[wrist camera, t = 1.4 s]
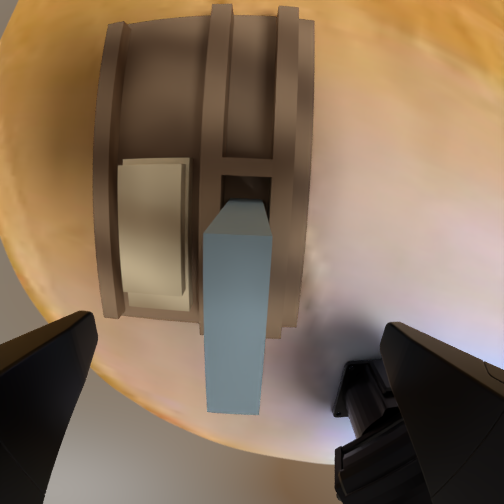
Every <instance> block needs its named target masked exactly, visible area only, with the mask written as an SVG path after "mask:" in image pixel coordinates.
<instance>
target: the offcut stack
mask: <svg viewBox="0 0 504 504" xmlns="http://www.w3.org/2000/svg"><path fill="white" fill-rule="evenodd" d="M192 179H193V158H142V159H123V165H118V228H119V247H120V262H121V274H122V285H123V292H128V299H129V306H133V307H143V308H154V309H165V310H177V311H190V309H191V307H192V304H193V302H192Z"/></svg>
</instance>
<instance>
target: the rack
mask: <svg viewBox="0 0 504 504" xmlns="http://www.w3.org/2000/svg"><path fill="white" fill-rule="evenodd" d="M314 50H315V41H314V21H313V20H305V19H299V8H298V7H289V6H279V8H278V14H277V17H273V16H254V15H234V14H233V7H232V4H212V11H211V16H192V17H179V18H169V19H160V20H152V21H145V22H139V23H133V24H126V23H125V22H124V21H123V22H117V23H113V24H108V29H107V34H106V39H105V45H104V50H103V56H102V63H101V69H100V77H99V84H98V93H97V103H96V114H95V127H94V146H93V214H94V233H95V247H96V259H97V269H98V278H99V286H100V294H101V301H102V308H103V315H104V317H105V318H113V319H119V318H120V316H129V317H138V318H148V319H158V320H168V321H180V322H192V323H200V335H204V312H203V233H204V232H205V230H206V229H207V228H208V226H209V225H210V224H211V223H212V221H213V220H214V219H215V217H216V216H217V215H218V213H219V212H220V211H221V210H222V208H223V207H224V206H225V205H226V203H227V202H228V201H229V199H230V198H244V199H262V201H263V204H264V208H265V211H266V215H267V218H268V222H269V225H270V229H271V233H272V236H273V238H272V253H271V268H270V283H269V297H268V311H267V324H266V337H265V338H270V339H281V329H282V327H296V326H297V318H298V309H299V301H300V292H301V282H302V273H303V263H304V252H305V241H306V229H307V217H308V204H309V189H310V174H311V156H312V135H313V108H314ZM142 158H193V179H192V302H193V304H192V307H191V309H190V311H177V310H165V309H154V308H143V307H133V306H129V299H128V292H123V285H122V274H121V262H120V247H119V228H118V165H123V159H142Z"/></svg>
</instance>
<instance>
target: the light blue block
mask: <svg viewBox="0 0 504 504" xmlns="http://www.w3.org/2000/svg"><path fill="white" fill-rule="evenodd" d="M272 238H273V236H272V233H271V229H270V225H269V222H268V218H267V215H266V211H265V208H264V204H263V201H262V199H244V198H230V199H229V201H228V202H227V203H226V205H225V206H224V207H223V208H222V210H221V211H220V212H219V213H218V215H217V216H216V217H215V219H214V220H213V221H212V223H211V224H210V225H209V226H208V228H207V229H206V230H205V232H204V233H203V312H204V351H205V377H206V397H207V412H212V413H226V414H244V415H259V408H260V397H261V386H262V374H263V362H264V350H265V337H266V324H267V311H268V297H269V283H270V268H271V253H272Z"/></svg>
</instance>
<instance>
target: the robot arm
mask: <svg viewBox="0 0 504 504" xmlns="http://www.w3.org/2000/svg"><path fill="white" fill-rule="evenodd" d="M97 342H98V333H97V329H96V324H95V319H94V315H93V313H92V312H89V311H78V312H75V313H73V314H71V315H68V316H66V317H63V318H61V319H59V320H56V321H54V322H52V323H49V324H47V325H45V326H42V327H40V328H38V329H35V330H33V331H31V332H28V333H26V334H24V335H21V336H19V337H17V338H14V339H12V340H10V341H7V342H5V343H3V344H0V504H43V501H44V497H45V495H44V494H45V493H46V490H47V486H48V483H49V479H50V476H51V473H52V470H53V467H54V464H55V461H56V458H57V455H58V451H59V449H60V446H61V443H62V440H63V437H64V435H65V432H66V429H67V426H68V424H69V421H70V418H71V416H72V413H73V410H74V408H75V405H76V403H77V401H78V398H79V395H80V393H81V391H82V388H83V386H84V383H85V381H86V378H87V375H88V371H89V368H90V364H91V361H92V358H93V355H94V352H95V348H96V345H97ZM380 353H381V356H382V359H375V360H365V361H350V362H348V363H346V365H345V367H344V371H343V375H342V379H341V383H340V387H339V390H338V394H337V398H336V401H335V405H334V408H333V416H334V417H349V419H350V421H351V424H352V427H353V430H354V433H355V436H356V439H355V440H354V441H352V442H350V443H348V444H346V445H344V446H343V447H342V446H340V447H338V448H337V449H335V490H336V492H337V494H336V495H337V498H338V500H340V501H342V502H343V504H504V370H503V369H501V368H498V367H496V366H494V365H492V364H489V363H487V362H485V361H484V362H483V360H481V359H479V358H476V357H474V356H472V355H470V354H468V353H466V352H463V351H461V350H459V349H457V348H455V347H453V346H451V345H448V344H446V343H444V342H442V341H440V340H438V339H435V338H433V337H431V336H429V335H427V334H425V333H423V332H420V331H418V330H416V329H414V328H412V327H410V326H408V325H405V324H403V323H401V322H389V323H387V325H386V327H385V330H384V333H383V336H382V339H381V343H380ZM351 366H353V367H352V368H349V367H351ZM338 412H339V413H338Z"/></svg>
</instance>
